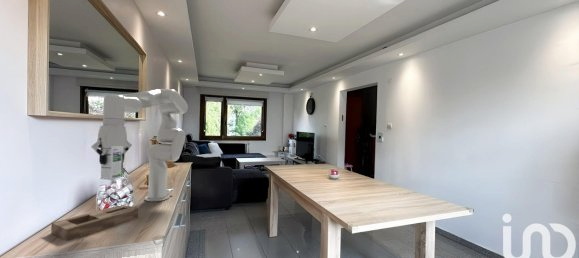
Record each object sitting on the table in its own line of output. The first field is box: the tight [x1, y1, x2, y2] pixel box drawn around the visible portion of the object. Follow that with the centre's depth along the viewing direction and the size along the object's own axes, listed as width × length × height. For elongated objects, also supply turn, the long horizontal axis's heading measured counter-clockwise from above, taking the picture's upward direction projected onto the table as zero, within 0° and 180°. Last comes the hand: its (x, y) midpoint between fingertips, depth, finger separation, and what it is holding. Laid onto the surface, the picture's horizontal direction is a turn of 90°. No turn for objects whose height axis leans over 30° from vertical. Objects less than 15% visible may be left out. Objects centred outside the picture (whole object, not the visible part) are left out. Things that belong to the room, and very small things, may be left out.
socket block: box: [50, 204, 139, 241], centre depth 102 cm, size 12×26×4 cm, turn 155°
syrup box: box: [100, 146, 124, 181], centre depth 106 cm, size 6×6×14 cm
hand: (112, 162), depth 106 cm, fingers closed on syrup box, 6 cm apart
